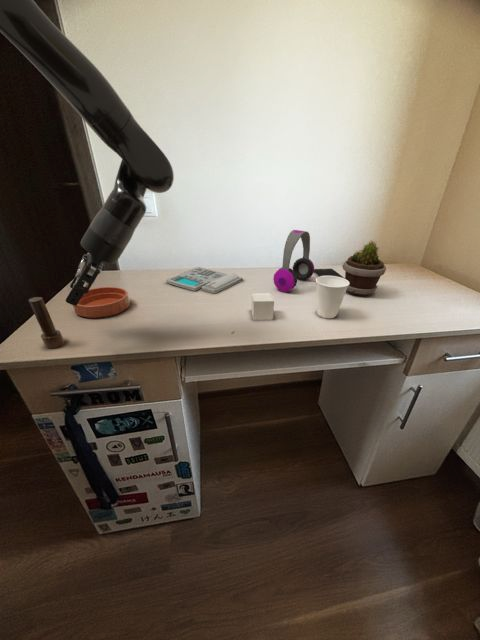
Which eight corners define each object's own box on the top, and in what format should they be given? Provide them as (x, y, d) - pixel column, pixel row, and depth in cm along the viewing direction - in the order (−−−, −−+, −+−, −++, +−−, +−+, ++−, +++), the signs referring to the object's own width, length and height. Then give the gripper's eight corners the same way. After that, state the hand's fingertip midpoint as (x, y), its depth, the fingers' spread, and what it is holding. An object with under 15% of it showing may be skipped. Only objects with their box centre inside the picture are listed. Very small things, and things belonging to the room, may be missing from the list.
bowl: (71, 322, 79) (66, 309, 77) (80, 301, 91) (76, 289, 89) (129, 315, 84) (126, 303, 82) (131, 296, 96) (128, 285, 94)
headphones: (291, 295, 101) (297, 237, 90) (270, 290, 105) (273, 233, 94) (314, 280, 116) (321, 228, 105) (295, 275, 120) (300, 225, 109)
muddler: (43, 349, 67) (21, 303, 61) (47, 341, 71) (27, 296, 64) (62, 347, 69) (43, 301, 62) (66, 339, 72) (48, 294, 65)
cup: (304, 310, 91) (309, 277, 85) (329, 306, 95) (335, 274, 89) (322, 324, 84) (328, 288, 78) (349, 318, 87) (356, 284, 81)
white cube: (273, 319, 85) (274, 301, 82) (253, 320, 84) (253, 301, 81) (270, 310, 90) (271, 293, 87) (251, 311, 89) (251, 293, 86)
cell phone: (331, 270, 127) (331, 268, 127) (349, 284, 113) (350, 282, 112) (313, 271, 126) (313, 268, 125) (329, 285, 111) (329, 283, 111)
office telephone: (243, 274, 112) (211, 289, 97) (243, 280, 113) (212, 296, 98) (197, 263, 121) (162, 275, 106) (198, 269, 122) (163, 282, 107)
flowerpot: (338, 283, 114) (348, 230, 103) (378, 288, 111) (392, 234, 100) (336, 296, 102) (347, 238, 91) (380, 302, 99) (397, 242, 88)
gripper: (92, 218, 64) (58, 276, 67) (88, 231, 53) (48, 300, 56) (124, 239, 68) (91, 292, 72) (127, 255, 58) (88, 317, 61)
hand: (72, 295), depth 64 cm, fingers open, 8 cm apart
